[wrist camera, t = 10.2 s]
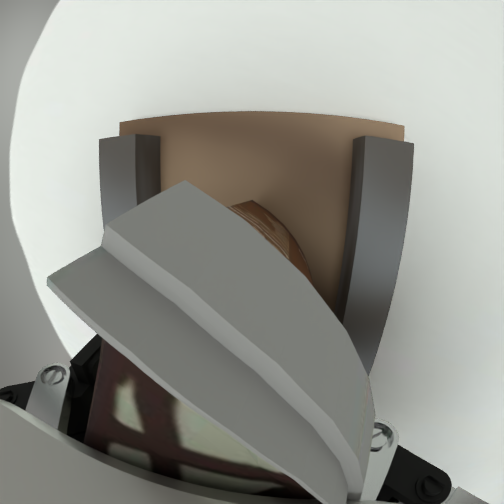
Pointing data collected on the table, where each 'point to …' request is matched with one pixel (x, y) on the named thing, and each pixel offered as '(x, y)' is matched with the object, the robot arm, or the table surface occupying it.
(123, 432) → the food container
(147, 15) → the table surface
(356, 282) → the cradle
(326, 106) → the table surface
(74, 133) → the table surface
